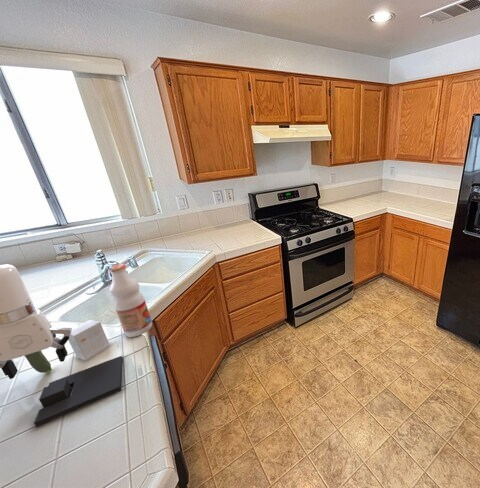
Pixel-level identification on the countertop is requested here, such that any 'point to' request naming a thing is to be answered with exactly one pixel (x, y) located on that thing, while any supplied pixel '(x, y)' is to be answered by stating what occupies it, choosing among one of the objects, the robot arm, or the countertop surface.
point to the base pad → (85, 389)
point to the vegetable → (39, 362)
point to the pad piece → (55, 393)
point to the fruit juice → (129, 302)
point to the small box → (88, 339)
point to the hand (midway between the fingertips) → (39, 366)
